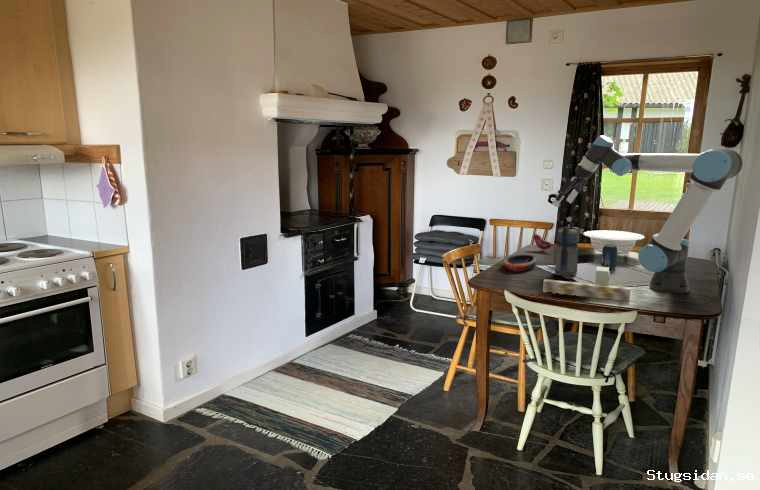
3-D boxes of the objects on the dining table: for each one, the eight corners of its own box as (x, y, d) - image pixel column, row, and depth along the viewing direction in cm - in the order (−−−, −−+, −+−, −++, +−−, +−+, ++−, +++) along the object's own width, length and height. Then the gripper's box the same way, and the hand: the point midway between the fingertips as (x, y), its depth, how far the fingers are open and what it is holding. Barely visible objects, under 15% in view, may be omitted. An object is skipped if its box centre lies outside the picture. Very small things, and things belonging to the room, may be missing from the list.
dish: (543, 263, 282) (543, 254, 281) (524, 275, 256) (525, 265, 256) (514, 260, 290) (515, 251, 289) (494, 271, 265) (494, 262, 264)
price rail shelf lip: (629, 299, 217) (630, 287, 216) (629, 301, 213) (630, 289, 212) (543, 290, 231) (544, 279, 230) (542, 292, 227) (543, 281, 226)
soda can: (613, 266, 272) (615, 244, 270) (617, 270, 265) (619, 246, 263) (599, 266, 273) (601, 244, 270) (603, 269, 266) (605, 246, 264)
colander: (652, 256, 295) (654, 234, 292) (629, 266, 273) (631, 242, 271) (596, 248, 318) (597, 228, 315) (571, 256, 296) (572, 234, 294)
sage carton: (595, 288, 233) (596, 266, 231) (608, 289, 231) (610, 267, 229) (594, 292, 226) (596, 270, 224) (607, 294, 224) (609, 271, 222)
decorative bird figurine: (533, 249, 317) (534, 233, 315) (559, 254, 303) (560, 237, 301) (530, 250, 315) (531, 233, 313) (557, 255, 302) (558, 237, 300)
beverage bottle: (550, 276, 255) (553, 225, 250) (558, 270, 265) (561, 221, 260) (572, 279, 249) (575, 227, 244) (579, 273, 260) (582, 223, 255)
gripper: (593, 160, 250) (568, 195, 262) (567, 164, 234) (542, 202, 246) (605, 169, 246) (580, 204, 259) (580, 174, 230) (554, 212, 243)
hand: (561, 203), depth 253 cm, fingers open, 13 cm apart
